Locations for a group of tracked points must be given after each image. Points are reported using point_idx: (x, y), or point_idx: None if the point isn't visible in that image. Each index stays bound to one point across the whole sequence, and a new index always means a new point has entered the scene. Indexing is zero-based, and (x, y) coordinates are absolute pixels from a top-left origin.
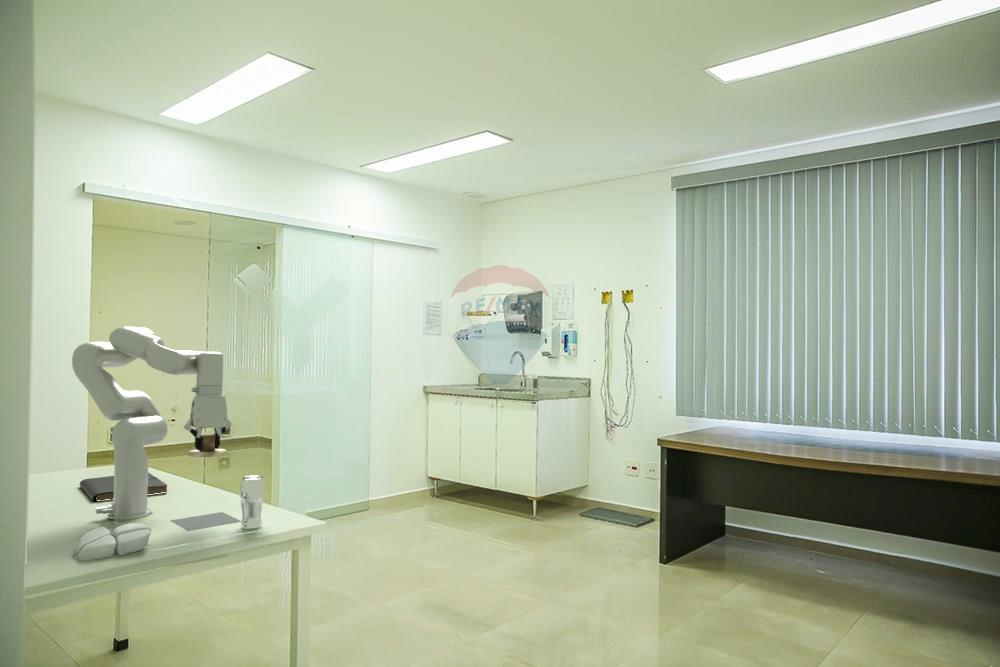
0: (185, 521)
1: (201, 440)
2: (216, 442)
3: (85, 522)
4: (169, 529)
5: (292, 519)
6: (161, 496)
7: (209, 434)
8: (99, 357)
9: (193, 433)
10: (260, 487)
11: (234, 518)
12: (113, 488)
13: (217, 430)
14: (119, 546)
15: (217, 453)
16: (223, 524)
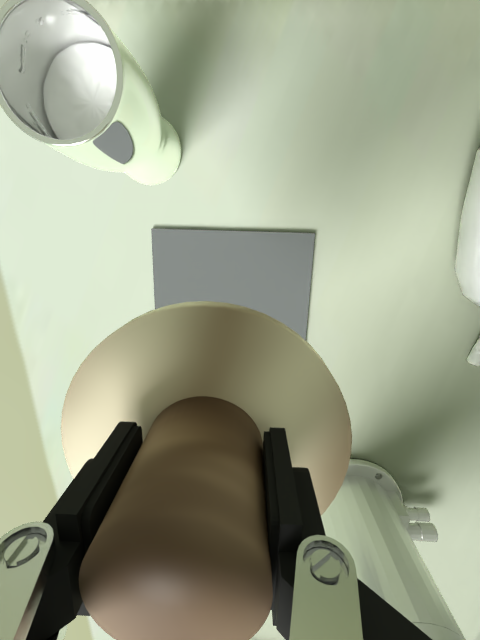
0: None
1: (281, 494)
2: (116, 463)
3: (444, 507)
4: (336, 302)
5: (7, 149)
6: None
7: (136, 629)
8: None
9: (405, 627)
10: (55, 23)
11: (156, 279)
12: None
13: (17, 615)
14: None
15: (173, 307)
16: (208, 231)
